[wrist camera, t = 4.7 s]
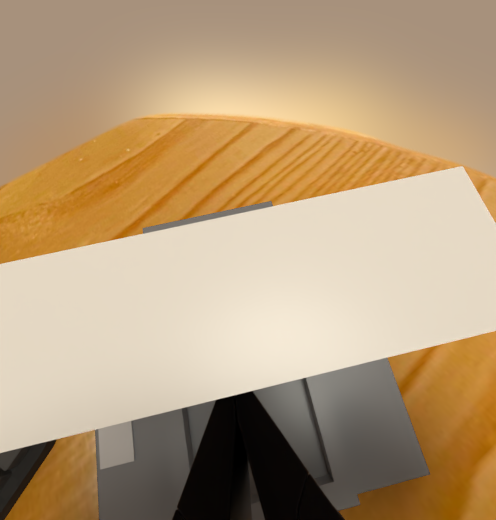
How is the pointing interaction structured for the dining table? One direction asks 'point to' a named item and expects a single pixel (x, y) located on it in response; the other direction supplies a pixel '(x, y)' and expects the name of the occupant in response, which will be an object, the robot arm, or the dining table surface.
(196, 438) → the grey flat square slab
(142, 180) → the dining table surface
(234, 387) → the switch lever
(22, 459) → the keyboard
